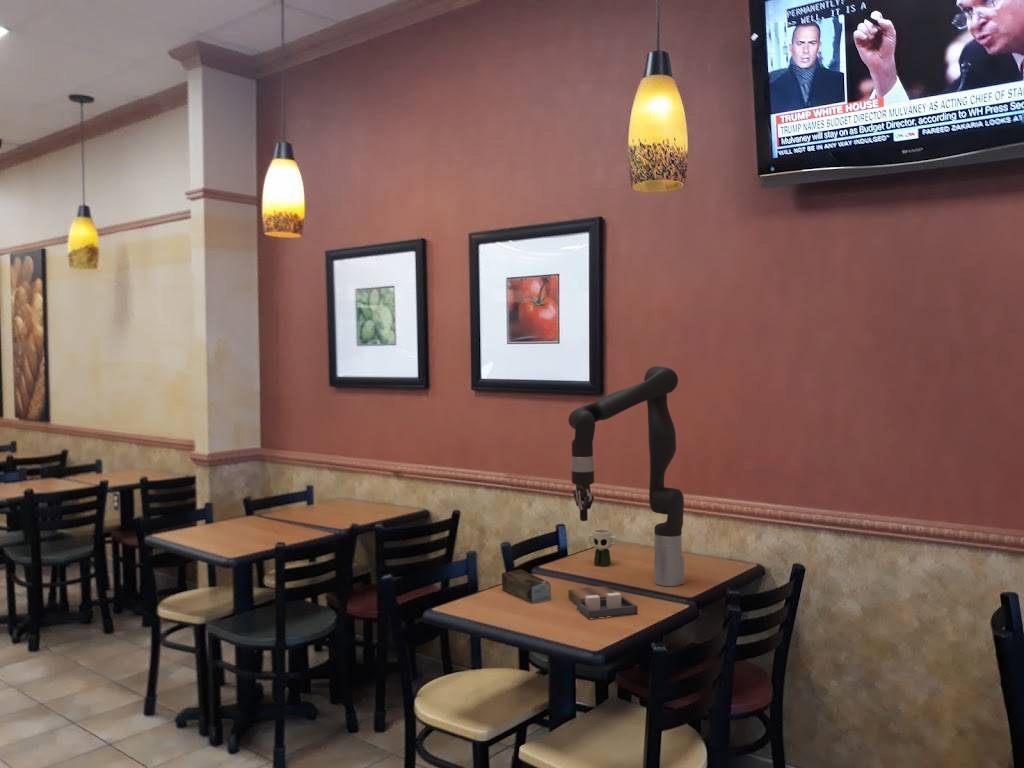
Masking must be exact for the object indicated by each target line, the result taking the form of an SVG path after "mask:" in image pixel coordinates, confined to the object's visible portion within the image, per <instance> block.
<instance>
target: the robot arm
mask: <svg viewBox="0 0 1024 768" xmlns="http://www.w3.org/2000/svg"><path fill="white" fill-rule="evenodd" d="M678 377H679V376H678V375H677V373H676V372H675V370H673V369H672V368H669V367H667V366H666V367H665V366H652V367H651V366H650V368H648V369H647V370H646V373H645V374H644V379H643V381H642V382H640V383H638V384H636V385H633V386H630V387H628V388H624V389H620V390H617V391H615V392H612V393H611V394H610V393H609V394H608V395H606V396H604V397H602V398H600V399H597V400H596V401H595V402H594V401H593V402H591V403H589V404H585V405H583V406H580V407H577V408H576V409H574V410H573V411H572V412H570V414H569V415H568V423H569V427H571V428H572V429H574V439H572V441H571V461H570V462H571V469H570V471H571V472H570V473H571V483H572V484H573V485H575V489H573V490H572V494H573V498H574V502H575V504H576V507H578V510H579V520H580V521H581V522H588V517H589V516H588V511H589V510H590V509H591V508H592V505H593V503H594V499H595V497H594V495H591V494H592V493H591V492H592V491H591V485H593V484H594V483H595V463H594V462H595V460H594V449H593V448H594V447H593V442H594V438H595V437H594V435H595V431H596V422H600V421H606V420H608V419H610V418H612V417H614V416H616V415H618V414H621V413H622V412H624V411H626V410H629V409H631V408H632V407H635V406H637V405H638V404H640V403H641V404H642V403H644V402H646V403H647V425H648V426H647V427H648V428H647V429H648V447H649V448H648V450H649V471H650V472H649V491H648V492H649V494H648V502H649V506H650V509H651V511H652V512H654V513H655V514H662V515H667V516H666V521H664V522H660V523H658V524H655V526H654V583H655V585H659V586H663V587H677V586H681V585H684V584H685V556H683V555H682V553H683V551H682V550H683V548H682V545H683V544H682V531H683V525H684V509H685V508H684V507H685V501H684V500H685V498H684V494H683V492H682V490H681V489H679V488H673V487H666V486H665V474H666V471H667V469H668V466H669V465H670V464H671V461H672V460H673V458H674V457H675V454H676V452H677V437H676V436H677V435H676V428H675V425H674V422H673V420H672V417H671V414H670V412H669V407H668V394H671V393H672V392H673V391H675V389H676V388H677V386H678V384H679V378H678Z"/></svg>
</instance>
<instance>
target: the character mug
mask: <svg viewBox="0 0 1024 768" xmlns="http://www.w3.org/2000/svg"><path fill="white" fill-rule="evenodd" d="M612 540H613V541H612ZM588 543H589V544H592V546H593V548H594V549H596V550H595V552H594V559H593V562H594V563H593V564H594V565H596V566H599V565H601V566H609V565H610V564H611V563H612V562H611V554H610V550H609V549H611V548H612V546H616V545H617V537H616V536H614V535H613V532H612V530H611V529H607V528H596V529H593V530H592V534H591V533H590V534H588Z"/></svg>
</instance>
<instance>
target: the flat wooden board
mask: <svg viewBox="0 0 1024 768" xmlns="http://www.w3.org/2000/svg"><path fill="white" fill-rule="evenodd" d="M567 590H568V592H567V593H568V596H567V597H568V600H569V599H570V602H572V603H573V602H574V603H575V604H574V603H573V604H574V605H575V606H577V602H580V601H585V596H590V595H598V596H599V597H600V599H606V594H607V593H616V592H614V591H613V590H612V589H610V587H608V586H606V585H601V586H594V587H593V586H591V587H580V588H570V589H567Z"/></svg>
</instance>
